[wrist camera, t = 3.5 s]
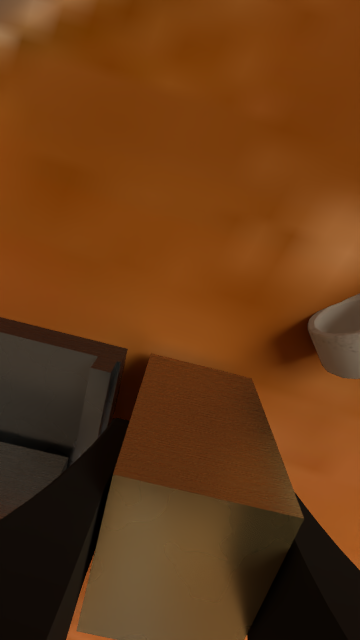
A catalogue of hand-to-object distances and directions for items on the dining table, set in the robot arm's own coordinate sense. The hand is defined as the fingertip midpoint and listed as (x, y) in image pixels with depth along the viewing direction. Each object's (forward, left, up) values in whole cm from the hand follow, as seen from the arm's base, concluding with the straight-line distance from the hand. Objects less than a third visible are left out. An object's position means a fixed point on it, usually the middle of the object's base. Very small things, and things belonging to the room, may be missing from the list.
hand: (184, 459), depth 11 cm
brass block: (0, 0, -2) cm, 2 cm away
